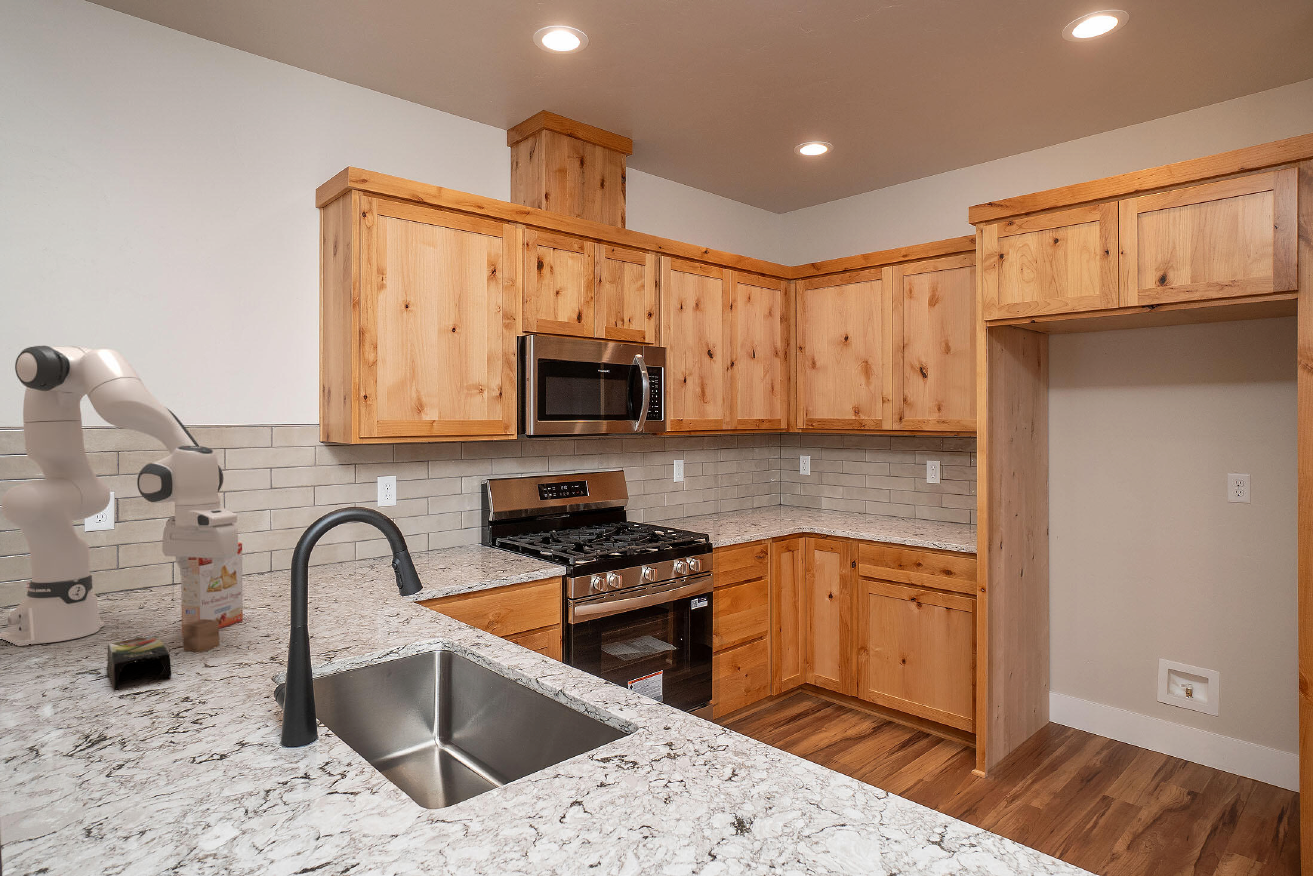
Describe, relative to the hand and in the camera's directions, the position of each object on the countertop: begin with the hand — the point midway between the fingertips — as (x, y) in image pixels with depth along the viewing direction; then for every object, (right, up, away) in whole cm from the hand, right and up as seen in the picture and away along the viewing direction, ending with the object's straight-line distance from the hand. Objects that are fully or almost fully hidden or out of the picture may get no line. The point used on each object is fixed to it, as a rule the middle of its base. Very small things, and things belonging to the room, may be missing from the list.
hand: (200, 576), depth 165 cm
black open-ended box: (-3, -18, -16) cm, 24 cm away
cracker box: (-8, -17, +18) cm, 26 cm away
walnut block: (0, -17, 0) cm, 17 cm away
